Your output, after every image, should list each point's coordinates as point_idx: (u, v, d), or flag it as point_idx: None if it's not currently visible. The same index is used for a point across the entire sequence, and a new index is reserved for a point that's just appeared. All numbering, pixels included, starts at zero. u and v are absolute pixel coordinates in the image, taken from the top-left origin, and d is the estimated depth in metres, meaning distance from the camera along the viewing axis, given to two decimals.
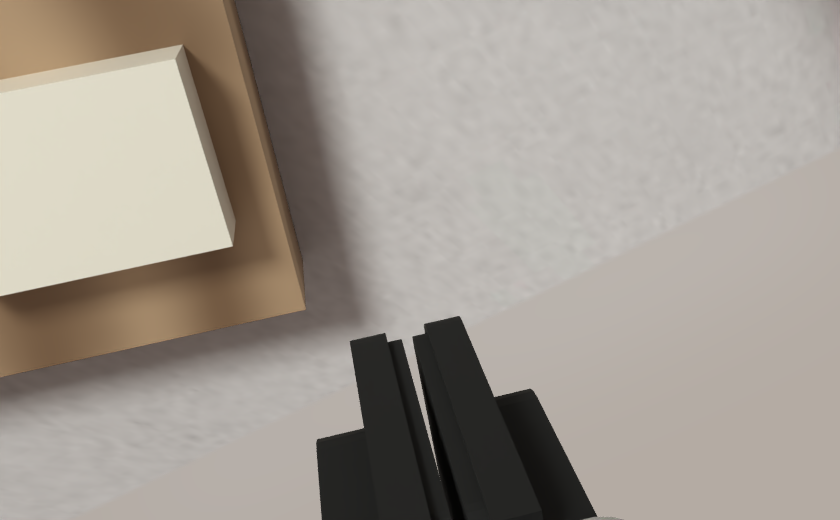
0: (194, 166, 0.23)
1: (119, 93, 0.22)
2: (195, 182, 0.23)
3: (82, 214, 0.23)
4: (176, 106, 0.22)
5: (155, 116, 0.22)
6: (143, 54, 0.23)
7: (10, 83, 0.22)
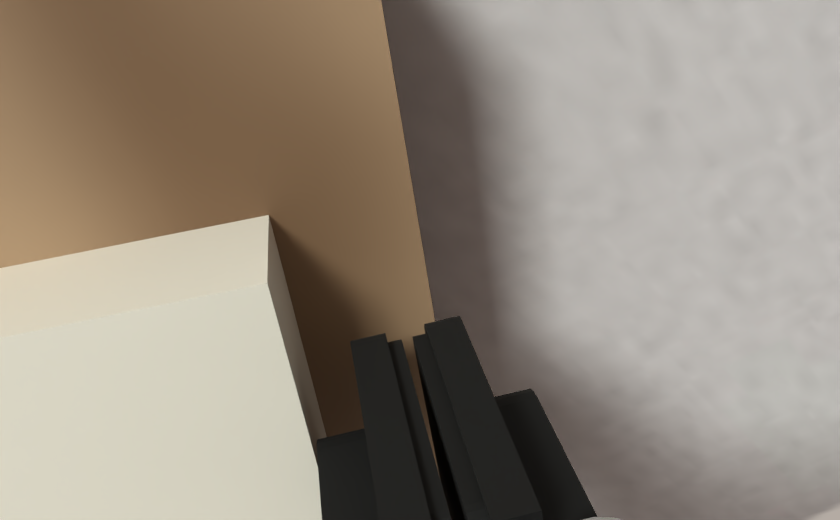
0: (294, 489, 0.10)
1: (132, 359, 0.09)
2: (293, 516, 0.11)
3: None
4: (263, 378, 0.10)
5: (214, 400, 0.10)
6: (185, 244, 0.10)
7: None
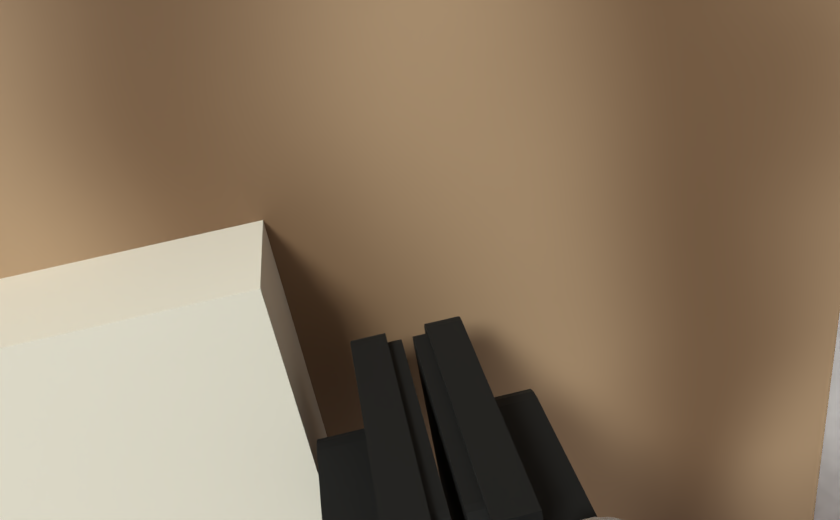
0: (293, 493, 0.11)
1: (128, 367, 0.09)
2: None
3: None
4: (259, 383, 0.10)
5: (211, 406, 0.10)
6: (180, 251, 0.10)
7: None
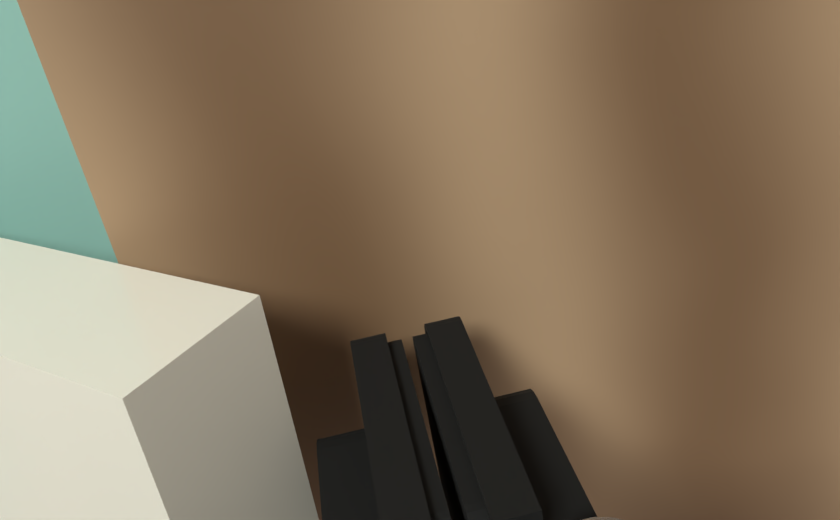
0: None
1: (34, 406, 0.09)
2: None
3: None
4: (138, 488, 0.08)
5: (102, 482, 0.09)
6: (163, 297, 0.09)
7: None
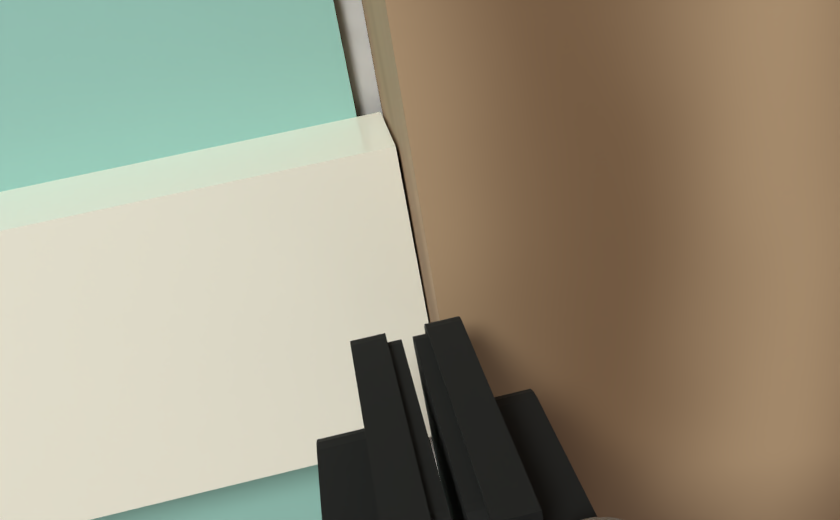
0: (405, 317, 0.14)
1: (296, 205, 0.13)
2: (403, 341, 0.14)
3: (218, 398, 0.14)
4: (388, 223, 0.13)
5: (352, 241, 0.13)
6: (321, 131, 0.14)
7: (103, 186, 0.13)
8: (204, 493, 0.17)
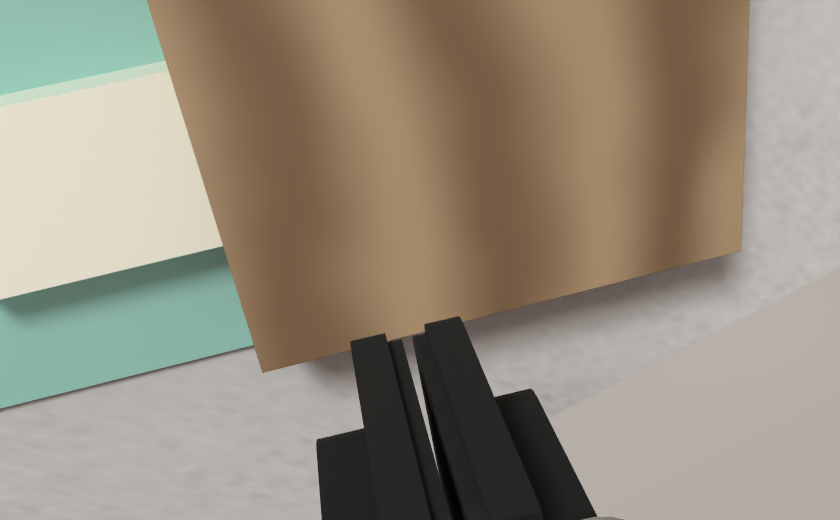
0: (192, 170, 0.25)
1: (122, 102, 0.24)
2: (193, 184, 0.25)
3: (88, 217, 0.25)
4: (175, 114, 0.24)
5: (156, 123, 0.24)
6: (142, 67, 0.25)
7: (19, 96, 0.24)
8: (93, 301, 0.28)
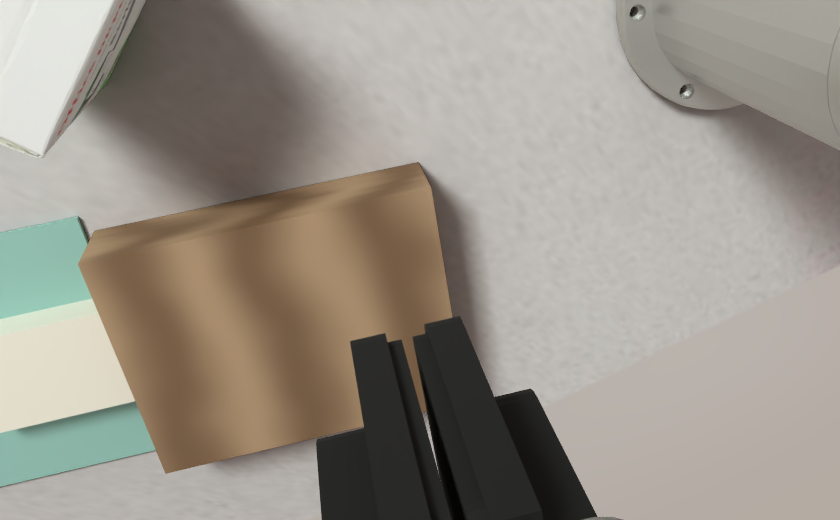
0: None
1: (80, 328, 0.42)
2: None
3: (62, 386, 0.43)
4: None
5: (100, 338, 0.42)
6: None
7: (23, 321, 0.42)
8: (68, 423, 0.46)
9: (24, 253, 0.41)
